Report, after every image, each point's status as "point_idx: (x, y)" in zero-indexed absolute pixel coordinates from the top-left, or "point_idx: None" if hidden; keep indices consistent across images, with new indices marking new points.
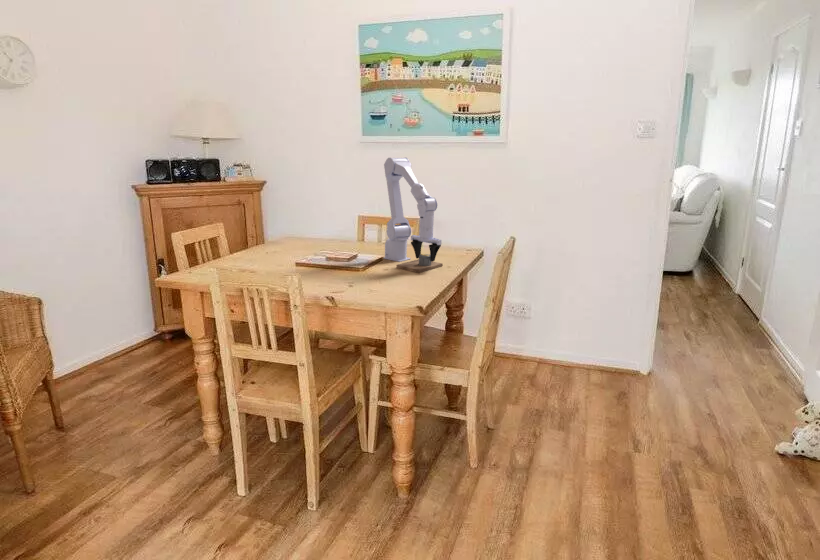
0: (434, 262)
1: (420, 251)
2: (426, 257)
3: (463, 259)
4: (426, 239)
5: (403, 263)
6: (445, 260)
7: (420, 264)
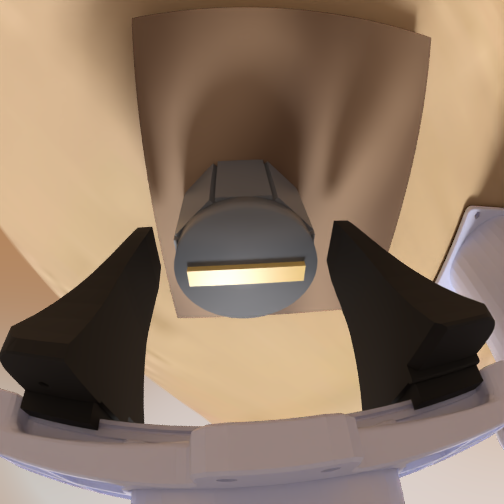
0: None
1: (344, 310)
2: (186, 230)
3: (224, 410)
4: (130, 479)
5: (414, 119)
6: (269, 377)
7: (250, 163)
